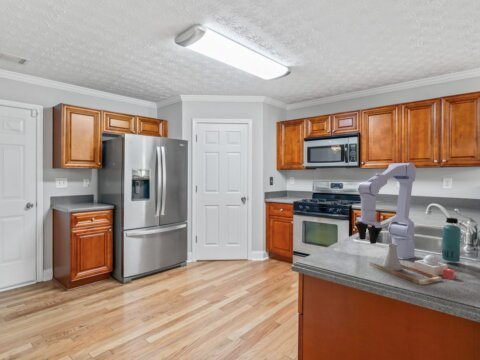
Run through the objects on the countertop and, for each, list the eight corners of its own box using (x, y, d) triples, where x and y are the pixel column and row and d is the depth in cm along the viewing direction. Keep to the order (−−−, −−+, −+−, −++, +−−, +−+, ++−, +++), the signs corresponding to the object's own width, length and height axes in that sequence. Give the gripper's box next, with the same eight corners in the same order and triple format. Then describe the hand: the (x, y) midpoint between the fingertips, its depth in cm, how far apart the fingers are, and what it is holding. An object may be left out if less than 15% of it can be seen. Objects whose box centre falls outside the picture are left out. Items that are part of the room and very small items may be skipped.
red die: (445, 275, 110) (445, 267, 110) (454, 277, 108) (454, 269, 108) (442, 277, 108) (443, 269, 108) (452, 279, 106) (452, 271, 106)
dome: (428, 264, 118) (428, 252, 118) (441, 267, 113) (441, 256, 113) (420, 265, 116) (420, 253, 116) (432, 269, 111) (432, 257, 111)
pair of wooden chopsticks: (388, 262, 126) (388, 259, 126) (441, 280, 105) (441, 277, 105) (369, 264, 122) (369, 262, 122) (421, 284, 101) (421, 281, 101)
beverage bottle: (457, 262, 127) (459, 217, 126) (462, 266, 121) (463, 219, 120) (440, 260, 130) (441, 216, 129) (443, 264, 124) (444, 218, 123)
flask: (378, 265, 122) (379, 242, 121) (394, 265, 122) (395, 242, 122) (388, 271, 114) (389, 246, 114) (406, 271, 115) (406, 246, 115)
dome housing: (427, 267, 120) (427, 259, 120) (447, 273, 112) (447, 264, 112) (414, 269, 117) (414, 261, 117) (433, 276, 109) (433, 267, 109)
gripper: (350, 207, 128) (349, 237, 129) (369, 212, 114) (369, 246, 115) (364, 207, 129) (364, 237, 130) (385, 212, 115) (385, 245, 116)
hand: (367, 241), depth 122 cm, fingers open, 7 cm apart
